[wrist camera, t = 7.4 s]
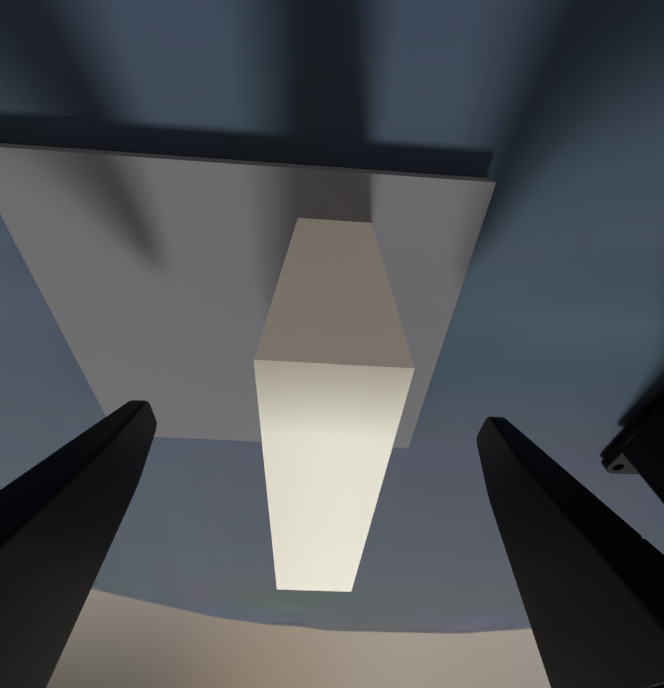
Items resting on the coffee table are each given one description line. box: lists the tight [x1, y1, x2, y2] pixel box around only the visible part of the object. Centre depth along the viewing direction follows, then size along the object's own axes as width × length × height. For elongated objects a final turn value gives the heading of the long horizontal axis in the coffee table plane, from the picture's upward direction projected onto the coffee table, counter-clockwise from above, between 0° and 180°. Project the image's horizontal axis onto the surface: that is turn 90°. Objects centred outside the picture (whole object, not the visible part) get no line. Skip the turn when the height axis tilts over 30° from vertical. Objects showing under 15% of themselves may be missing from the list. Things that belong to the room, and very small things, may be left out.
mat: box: [0, 143, 496, 448], centre depth 12 cm, size 13×11×1 cm
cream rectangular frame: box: [254, 218, 415, 592], centre depth 9 cm, size 8×2×6 cm, turn 176°
